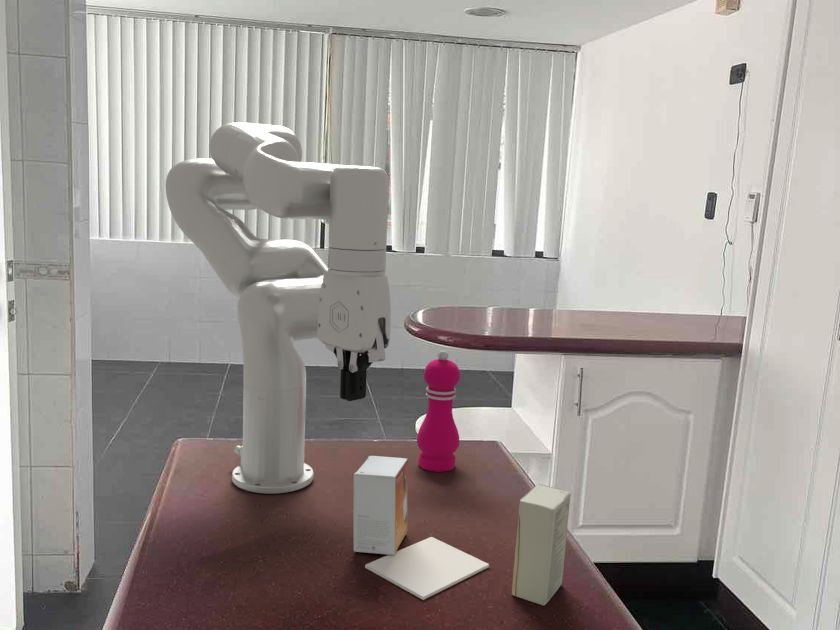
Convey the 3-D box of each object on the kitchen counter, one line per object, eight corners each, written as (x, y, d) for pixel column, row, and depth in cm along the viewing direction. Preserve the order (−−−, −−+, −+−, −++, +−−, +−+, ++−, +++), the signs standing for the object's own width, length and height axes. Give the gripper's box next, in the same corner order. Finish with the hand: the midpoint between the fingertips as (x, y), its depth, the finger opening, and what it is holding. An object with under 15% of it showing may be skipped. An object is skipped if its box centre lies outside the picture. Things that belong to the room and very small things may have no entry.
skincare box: (529, 574, 98) (537, 482, 96) (563, 585, 96) (572, 490, 94) (510, 596, 93) (517, 499, 91) (545, 608, 91) (554, 508, 89)
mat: (365, 567, 98) (365, 564, 98) (431, 539, 107) (431, 536, 107) (423, 600, 91) (423, 596, 91) (488, 567, 100) (489, 564, 100)
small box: (394, 557, 100) (395, 477, 99) (352, 552, 101) (352, 473, 100) (408, 531, 108) (409, 457, 107) (368, 528, 109) (369, 454, 108)
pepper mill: (410, 459, 136) (416, 346, 133) (449, 456, 139) (456, 345, 135) (422, 474, 130) (429, 355, 126) (464, 471, 132) (471, 354, 128)
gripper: (298, 257, 105) (296, 391, 108) (374, 269, 95) (369, 416, 98) (341, 255, 111) (338, 383, 114) (418, 266, 101) (412, 406, 104)
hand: (352, 398), depth 106 cm, fingers closed
